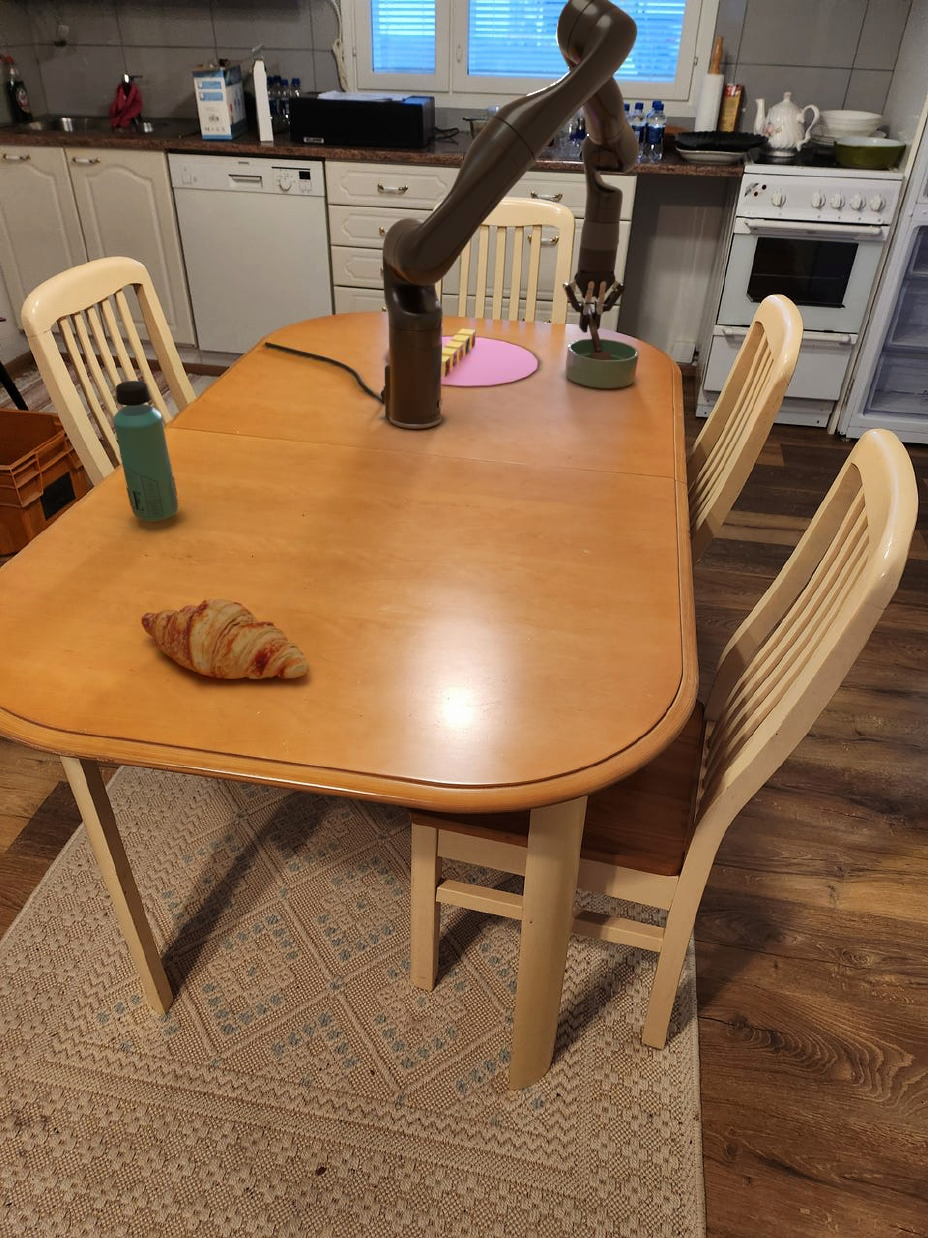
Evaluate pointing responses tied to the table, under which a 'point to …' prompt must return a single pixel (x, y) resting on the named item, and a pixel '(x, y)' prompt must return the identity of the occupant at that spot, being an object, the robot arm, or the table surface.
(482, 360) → the platter
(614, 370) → the bowl
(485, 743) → the table surface
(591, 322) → the spatula
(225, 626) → the croissant
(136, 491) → the beverage bottle
